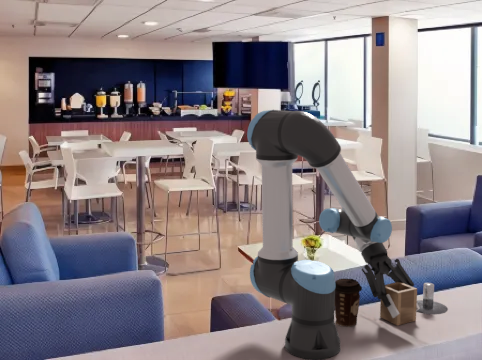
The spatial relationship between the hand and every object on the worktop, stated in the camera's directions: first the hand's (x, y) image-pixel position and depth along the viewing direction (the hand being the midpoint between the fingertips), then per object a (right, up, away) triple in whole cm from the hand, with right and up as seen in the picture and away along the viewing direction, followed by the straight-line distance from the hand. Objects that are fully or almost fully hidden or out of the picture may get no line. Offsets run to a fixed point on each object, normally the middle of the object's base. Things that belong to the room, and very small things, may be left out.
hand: (406, 313), depth 177 cm
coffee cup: (-17, -4, +5) cm, 18 cm away
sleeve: (-2, -3, +3) cm, 5 cm away
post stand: (+10, -2, +13) cm, 17 cm away
